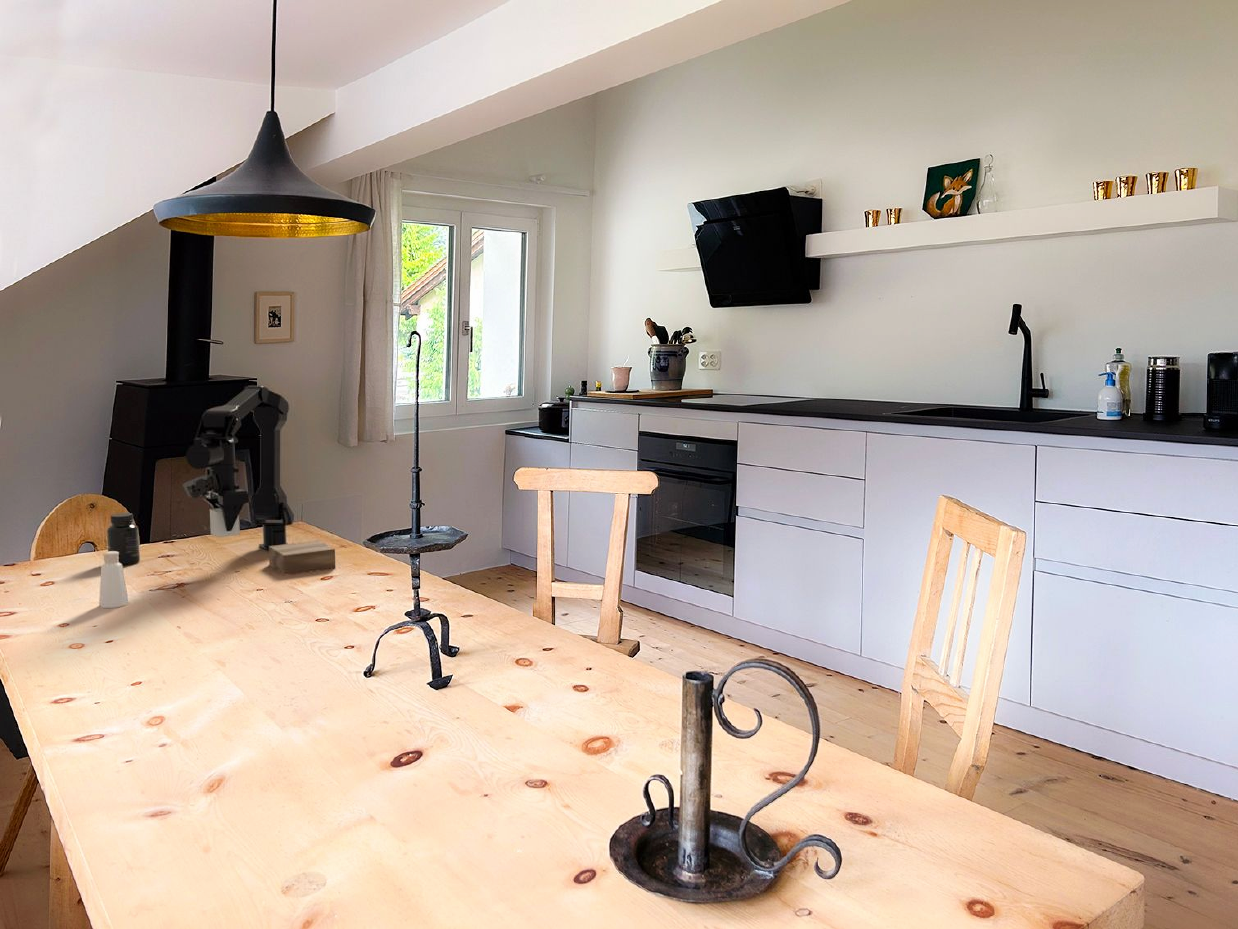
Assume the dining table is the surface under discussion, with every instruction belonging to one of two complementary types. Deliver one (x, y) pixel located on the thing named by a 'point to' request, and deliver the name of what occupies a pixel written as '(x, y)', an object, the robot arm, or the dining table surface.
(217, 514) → the grey block
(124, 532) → the supplement bottle
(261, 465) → the robot arm
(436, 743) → the dining table surface
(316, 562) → the walnut box
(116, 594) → the salt shaker
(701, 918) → the dining table surface
